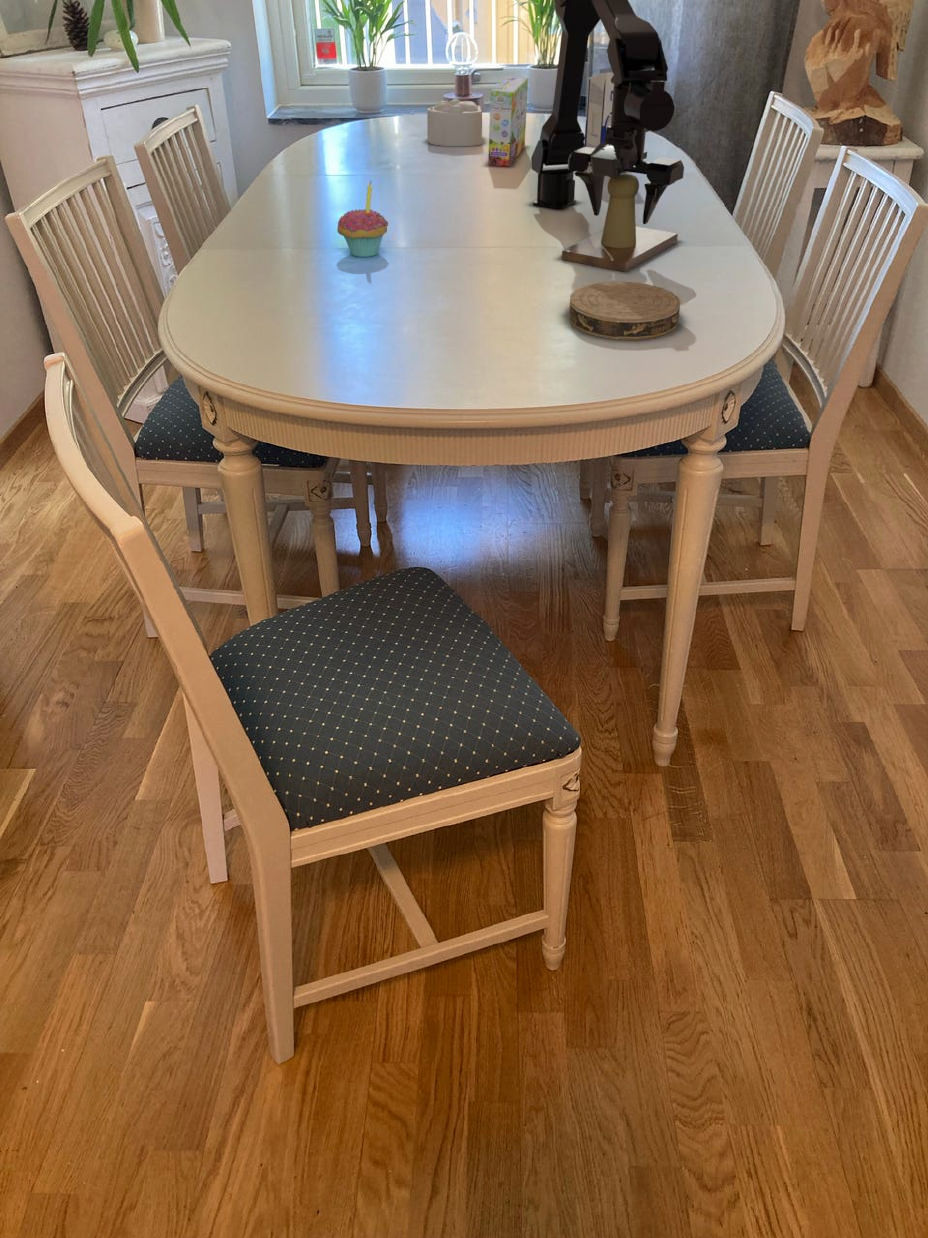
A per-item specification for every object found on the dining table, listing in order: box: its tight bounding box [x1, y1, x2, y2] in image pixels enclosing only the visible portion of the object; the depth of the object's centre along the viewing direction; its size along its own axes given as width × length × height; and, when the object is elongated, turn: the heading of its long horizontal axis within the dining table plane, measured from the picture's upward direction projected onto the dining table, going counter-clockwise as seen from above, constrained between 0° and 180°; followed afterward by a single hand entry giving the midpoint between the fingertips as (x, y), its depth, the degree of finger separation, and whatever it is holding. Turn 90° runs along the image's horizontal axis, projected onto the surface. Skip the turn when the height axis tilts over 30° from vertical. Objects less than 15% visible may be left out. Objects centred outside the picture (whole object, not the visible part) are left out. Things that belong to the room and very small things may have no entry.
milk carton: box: [584, 67, 627, 174], centre depth 221 cm, size 7×7×20 cm
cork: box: [601, 173, 640, 248], centre depth 175 cm, size 6×6×11 cm
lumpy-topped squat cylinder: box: [426, 98, 483, 147], centre depth 248 cm, size 10×13×9 cm
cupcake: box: [337, 180, 389, 258], centre depth 175 cm, size 9×8×12 cm
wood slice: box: [568, 281, 681, 341], centre depth 151 cm, size 16×16×3 cm
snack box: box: [487, 76, 529, 167], centre depth 234 cm, size 21×6×15 cm, turn 168°
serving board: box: [561, 225, 679, 273], centre depth 179 cm, size 12×20×2 cm, turn 146°
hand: (620, 219), depth 176 cm, fingers open, 9 cm apart
